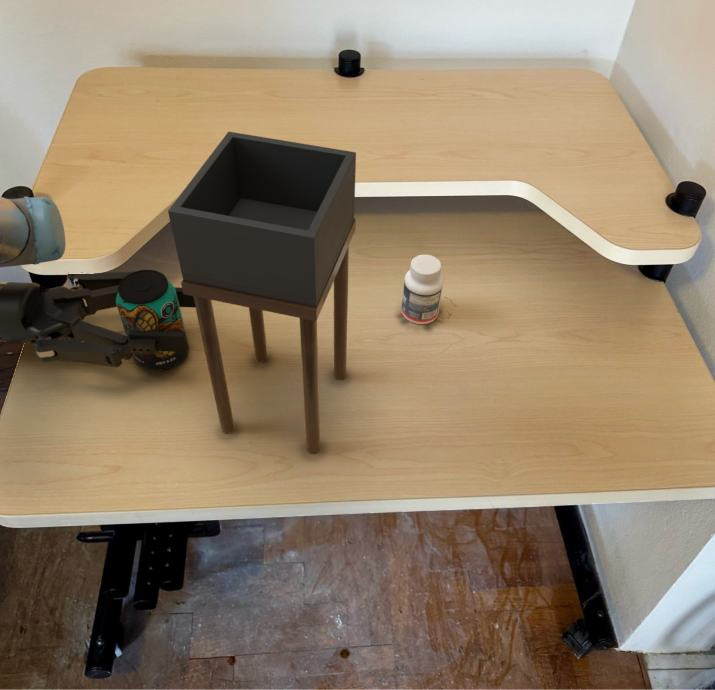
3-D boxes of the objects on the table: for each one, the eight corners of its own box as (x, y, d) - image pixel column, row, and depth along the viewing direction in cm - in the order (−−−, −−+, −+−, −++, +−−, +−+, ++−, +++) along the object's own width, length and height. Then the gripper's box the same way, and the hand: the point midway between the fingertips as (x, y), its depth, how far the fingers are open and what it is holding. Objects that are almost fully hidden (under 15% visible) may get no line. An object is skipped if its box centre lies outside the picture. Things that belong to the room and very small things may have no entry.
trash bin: (316, 307, 60) (314, 237, 54) (182, 280, 62) (167, 210, 56) (354, 219, 69) (356, 152, 63) (236, 198, 70) (228, 131, 65)
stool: (320, 459, 77) (316, 309, 59) (214, 434, 79) (180, 282, 61) (351, 370, 86) (355, 218, 69) (256, 349, 88) (236, 196, 71)
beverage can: (139, 380, 84) (117, 312, 75) (130, 342, 89) (107, 273, 80) (195, 365, 86) (179, 297, 77) (183, 328, 91) (166, 260, 82)
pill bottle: (406, 295, 96) (411, 247, 90) (441, 303, 95) (449, 255, 89) (397, 320, 93) (402, 272, 86) (434, 329, 92) (441, 280, 85)
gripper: (43, 281, 92) (210, 287, 92) (-15, 394, 79) (181, 402, 79) (25, 237, 87) (202, 244, 87) (-41, 351, 73) (169, 359, 73)
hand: (192, 319), depth 83 cm, fingers closed on beverage can, 7 cm apart
